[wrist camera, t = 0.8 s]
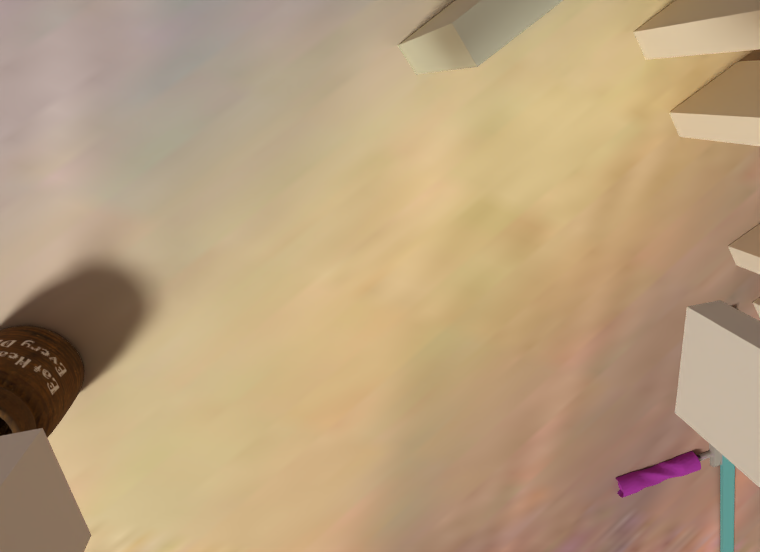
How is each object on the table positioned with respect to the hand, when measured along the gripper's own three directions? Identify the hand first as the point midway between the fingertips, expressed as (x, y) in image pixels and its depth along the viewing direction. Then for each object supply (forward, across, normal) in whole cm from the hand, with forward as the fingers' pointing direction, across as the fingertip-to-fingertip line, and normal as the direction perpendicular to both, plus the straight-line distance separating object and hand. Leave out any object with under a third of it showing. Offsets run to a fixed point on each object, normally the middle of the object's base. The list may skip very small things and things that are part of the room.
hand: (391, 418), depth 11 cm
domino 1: (+21, +8, +8) cm, 24 cm away
